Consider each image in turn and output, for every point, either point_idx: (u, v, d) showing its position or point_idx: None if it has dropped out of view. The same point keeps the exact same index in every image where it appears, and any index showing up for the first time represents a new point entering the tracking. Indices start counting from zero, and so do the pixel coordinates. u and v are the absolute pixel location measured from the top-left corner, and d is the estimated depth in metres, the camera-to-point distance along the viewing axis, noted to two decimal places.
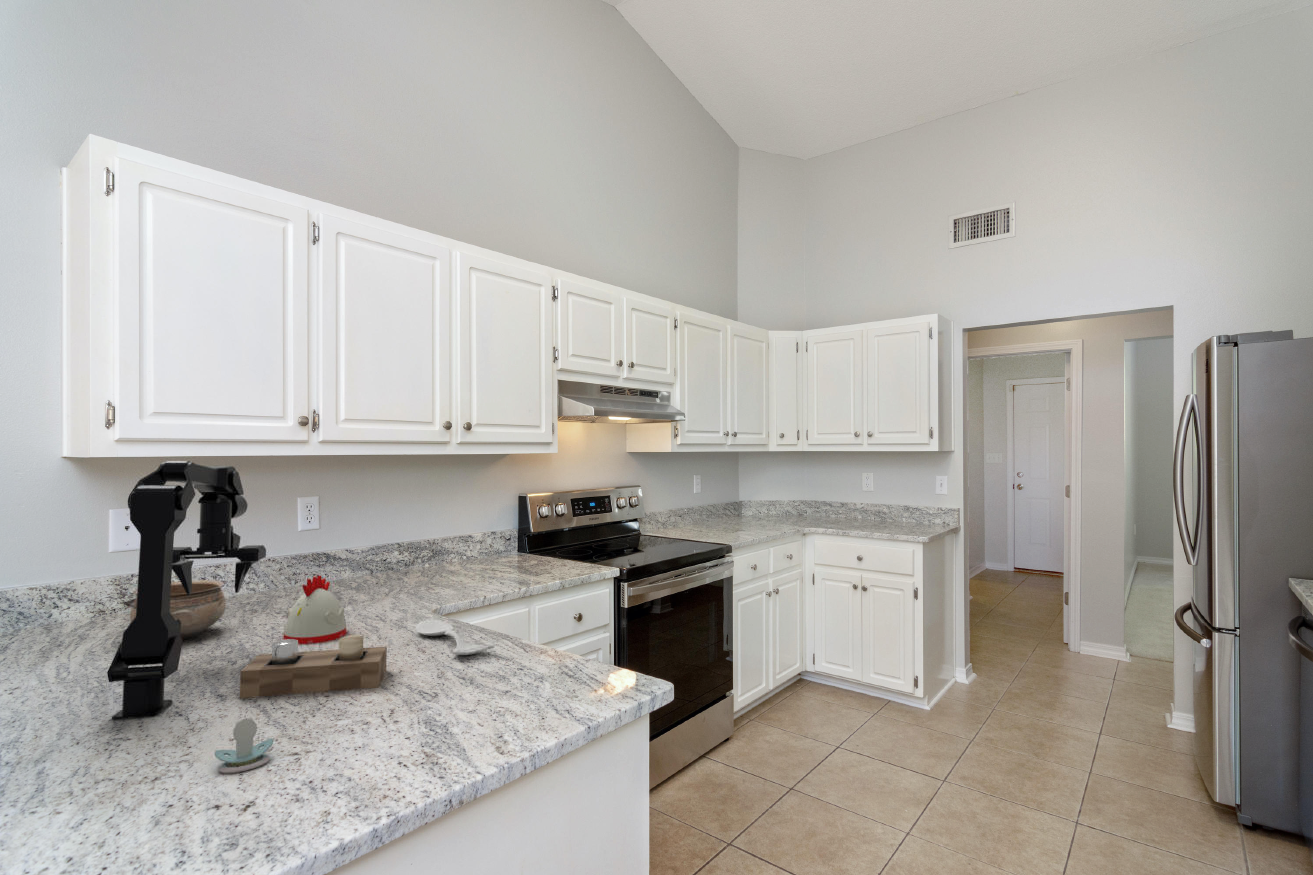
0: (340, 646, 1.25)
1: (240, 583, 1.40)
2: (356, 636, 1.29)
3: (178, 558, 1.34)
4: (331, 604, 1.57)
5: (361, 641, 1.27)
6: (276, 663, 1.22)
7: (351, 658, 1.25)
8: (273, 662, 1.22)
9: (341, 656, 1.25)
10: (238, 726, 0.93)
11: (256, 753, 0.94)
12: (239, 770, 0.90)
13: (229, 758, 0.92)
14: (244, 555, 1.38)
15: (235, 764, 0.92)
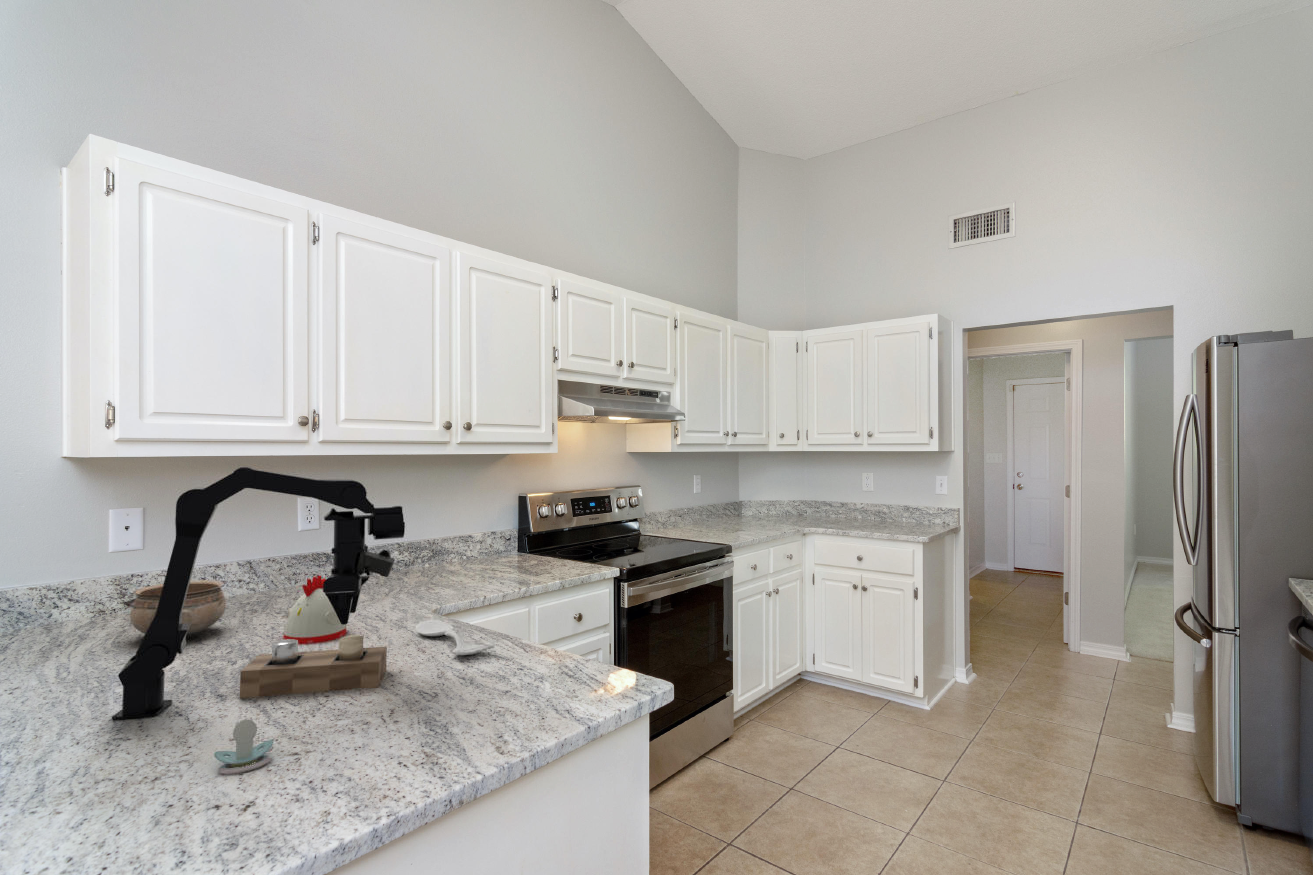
0: (340, 646, 1.25)
1: (340, 614, 1.23)
2: (356, 636, 1.29)
3: None
4: None
5: (361, 641, 1.27)
6: (276, 663, 1.22)
7: (351, 658, 1.25)
8: (273, 662, 1.22)
9: (341, 656, 1.25)
10: (238, 727, 0.93)
11: (256, 754, 0.94)
12: (239, 771, 0.90)
13: (229, 759, 0.92)
14: None
15: (235, 765, 0.92)
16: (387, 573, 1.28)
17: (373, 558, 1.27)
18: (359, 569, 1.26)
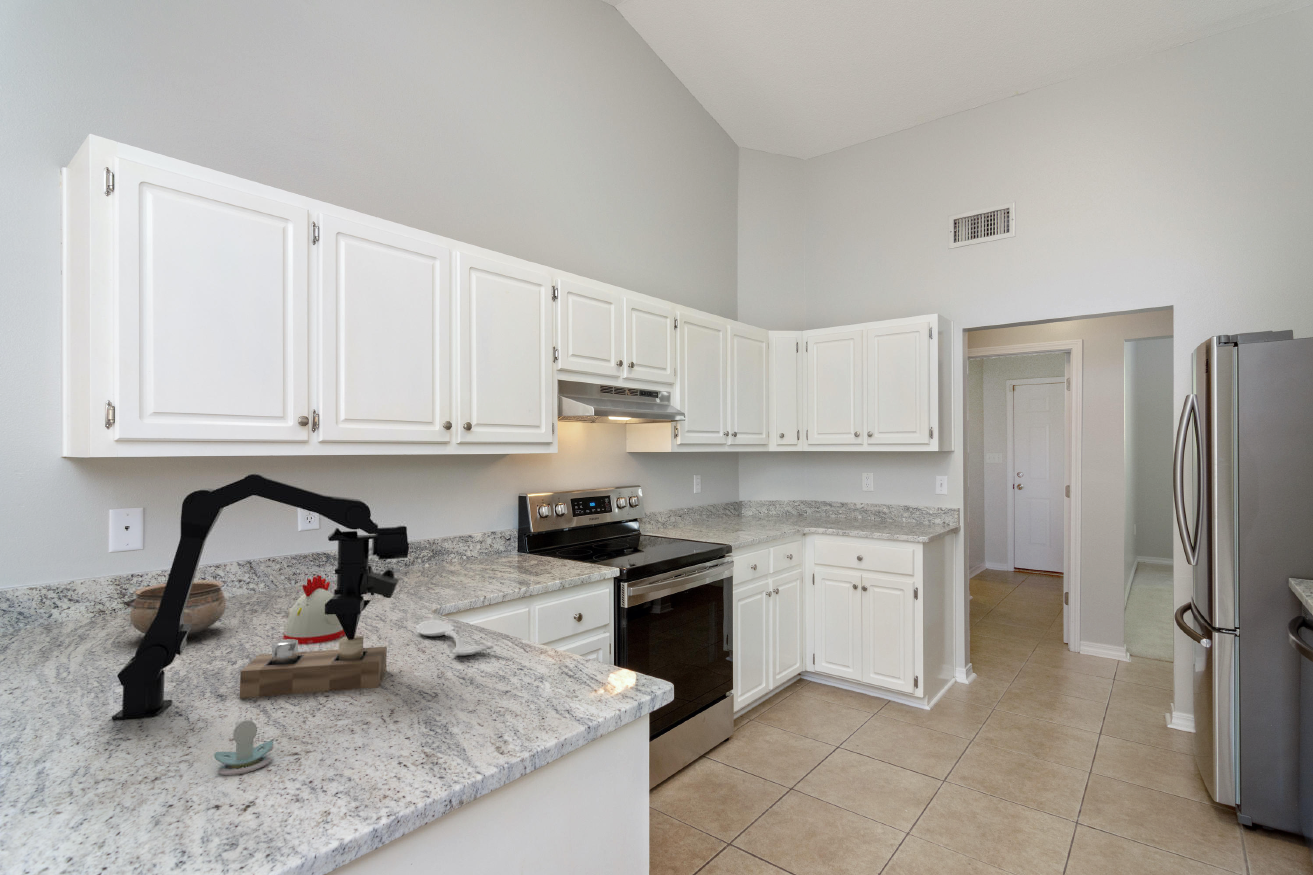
0: (340, 646, 1.25)
1: (347, 630, 1.26)
2: (356, 636, 1.29)
3: None
4: None
5: (361, 641, 1.27)
6: (276, 663, 1.22)
7: (351, 658, 1.25)
8: (273, 662, 1.22)
9: (341, 656, 1.25)
10: (238, 728, 0.93)
11: (256, 755, 0.93)
12: (239, 772, 0.90)
13: (229, 760, 0.92)
14: None
15: (235, 766, 0.91)
16: (390, 594, 1.27)
17: (376, 579, 1.26)
18: (362, 590, 1.25)
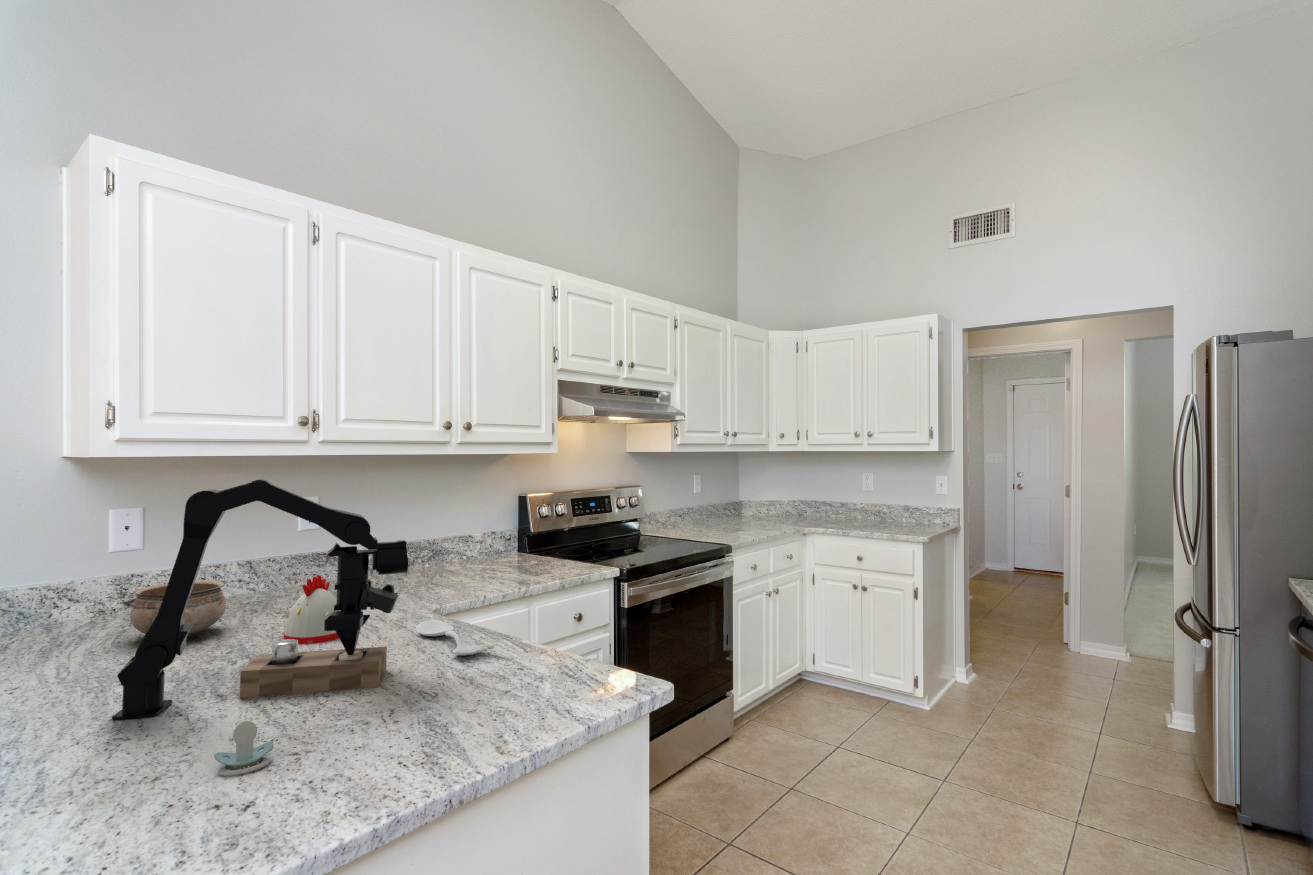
0: None
1: (347, 645, 1.26)
2: (356, 652, 1.28)
3: None
4: (331, 604, 1.57)
5: (361, 657, 1.27)
6: (276, 663, 1.22)
7: None
8: (273, 662, 1.22)
9: None
10: (238, 728, 0.93)
11: (256, 756, 0.93)
12: (239, 773, 0.89)
13: (229, 761, 0.91)
14: None
15: (235, 767, 0.91)
16: (390, 609, 1.27)
17: (376, 594, 1.26)
18: (362, 605, 1.25)
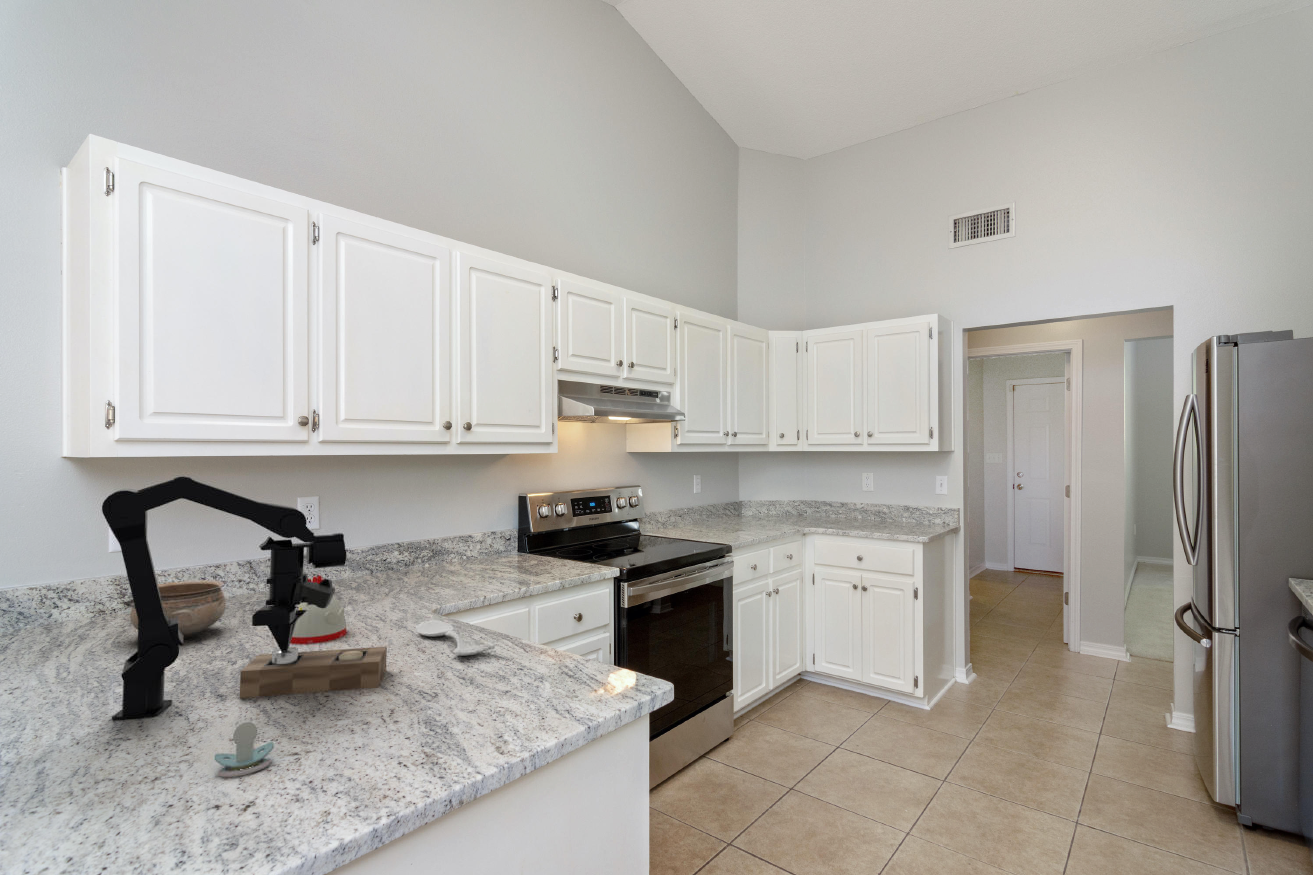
0: None
1: (280, 641, 1.23)
2: (356, 652, 1.28)
3: None
4: (331, 604, 1.57)
5: (361, 657, 1.27)
6: None
7: None
8: None
9: None
10: (238, 729, 0.92)
11: (256, 757, 0.93)
12: (239, 774, 0.89)
13: (229, 762, 0.91)
14: None
15: (235, 768, 0.91)
16: (324, 604, 1.24)
17: (310, 589, 1.23)
18: (295, 600, 1.22)
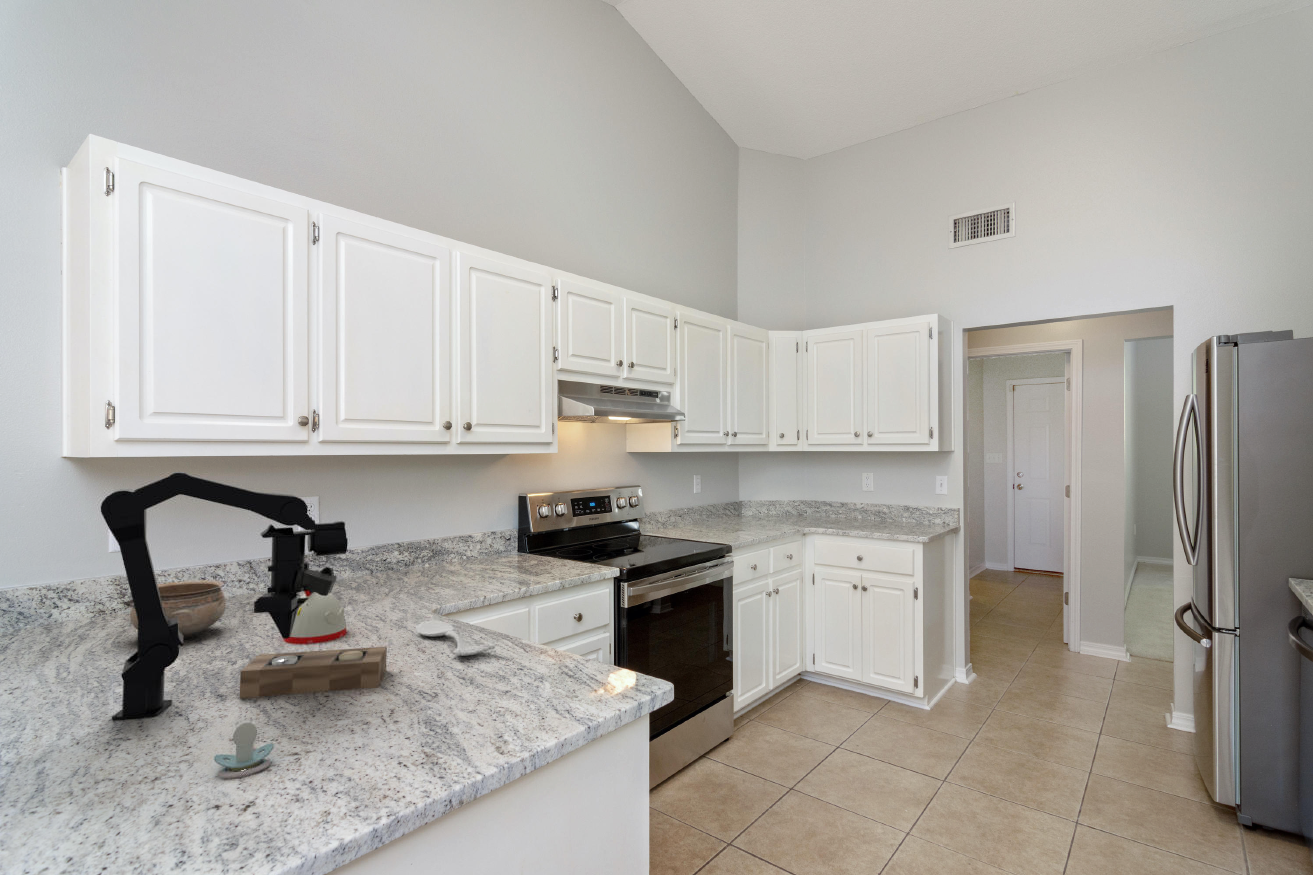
0: None
1: (282, 628, 1.23)
2: (356, 652, 1.28)
3: None
4: (331, 604, 1.57)
5: (361, 657, 1.27)
6: None
7: None
8: None
9: None
10: (238, 730, 0.92)
11: (256, 758, 0.92)
12: (239, 775, 0.89)
13: (229, 763, 0.91)
14: None
15: (235, 769, 0.91)
16: (326, 592, 1.24)
17: (311, 576, 1.23)
18: (296, 588, 1.22)
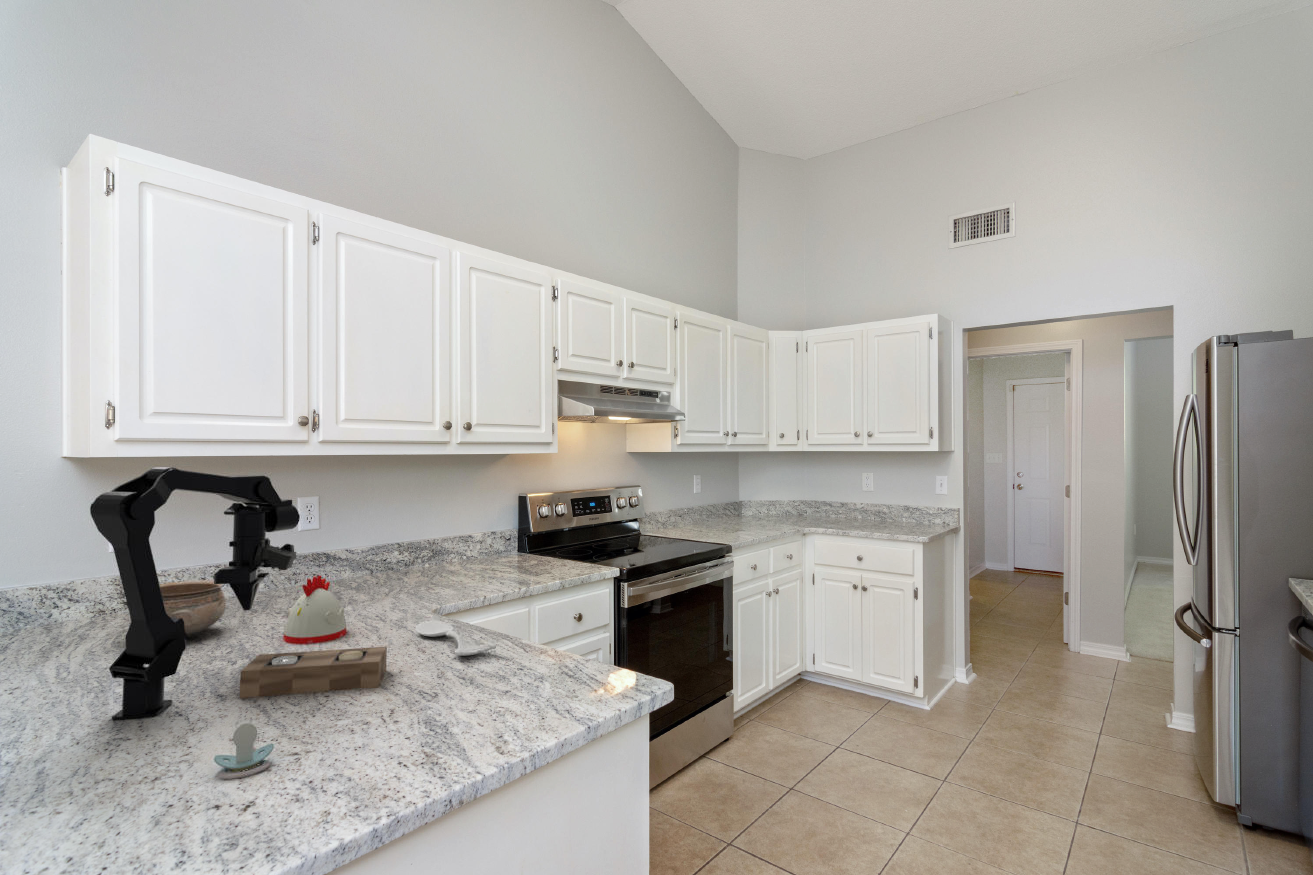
0: None
1: (242, 601, 1.30)
2: (356, 652, 1.28)
3: None
4: (331, 604, 1.57)
5: (361, 657, 1.27)
6: None
7: None
8: None
9: None
10: (238, 731, 0.92)
11: (256, 758, 0.92)
12: (239, 776, 0.89)
13: (229, 763, 0.91)
14: None
15: (235, 770, 0.90)
16: (285, 566, 1.31)
17: (271, 552, 1.30)
18: (256, 562, 1.29)
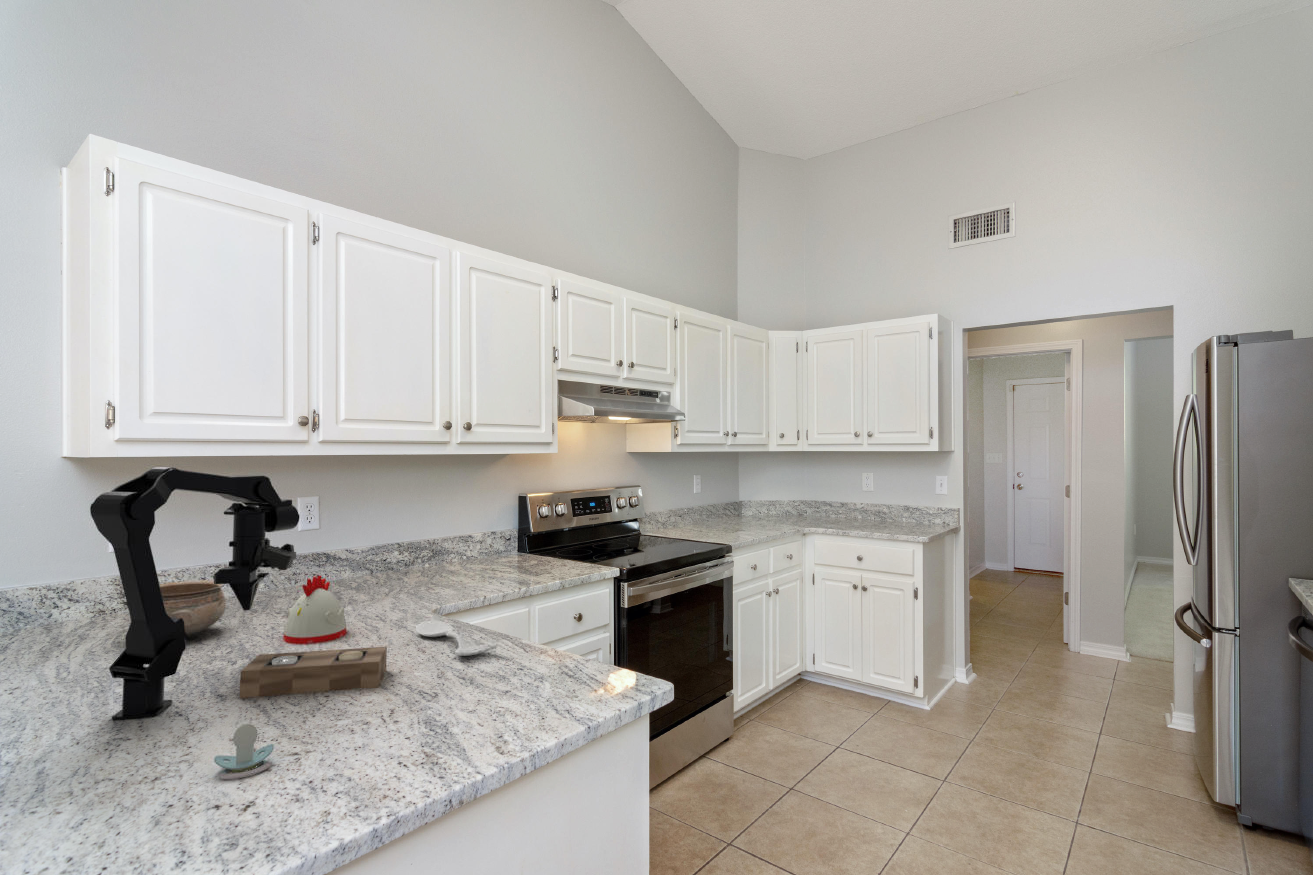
0: None
1: (242, 601, 1.30)
2: (356, 652, 1.28)
3: None
4: (331, 604, 1.57)
5: (361, 657, 1.27)
6: None
7: None
8: None
9: None
10: (238, 731, 0.92)
11: (256, 759, 0.92)
12: (239, 776, 0.88)
13: (229, 764, 0.90)
14: None
15: (235, 770, 0.90)
16: (285, 566, 1.31)
17: (271, 552, 1.30)
18: (256, 562, 1.29)
